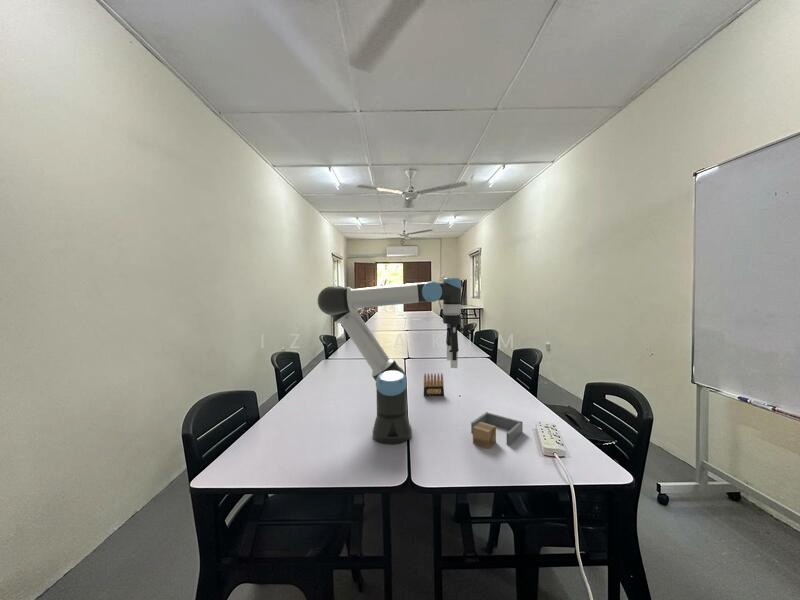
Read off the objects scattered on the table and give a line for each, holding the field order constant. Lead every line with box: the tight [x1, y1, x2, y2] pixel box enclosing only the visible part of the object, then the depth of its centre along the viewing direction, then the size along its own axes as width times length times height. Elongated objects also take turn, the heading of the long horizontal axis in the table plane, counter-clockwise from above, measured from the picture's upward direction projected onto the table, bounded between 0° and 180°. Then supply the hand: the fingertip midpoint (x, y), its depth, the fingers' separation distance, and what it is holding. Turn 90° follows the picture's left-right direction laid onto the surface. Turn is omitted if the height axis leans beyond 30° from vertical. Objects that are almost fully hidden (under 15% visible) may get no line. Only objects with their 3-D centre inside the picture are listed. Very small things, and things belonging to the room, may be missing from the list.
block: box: [472, 422, 497, 450], centre depth 110 cm, size 6×6×6 cm
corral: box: [470, 411, 524, 446], centre depth 118 cm, size 13×15×4 cm
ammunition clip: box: [423, 372, 445, 397], centre depth 160 cm, size 11×2×12 cm, turn 90°
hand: (451, 363), depth 130 cm, fingers open, 13 cm apart
